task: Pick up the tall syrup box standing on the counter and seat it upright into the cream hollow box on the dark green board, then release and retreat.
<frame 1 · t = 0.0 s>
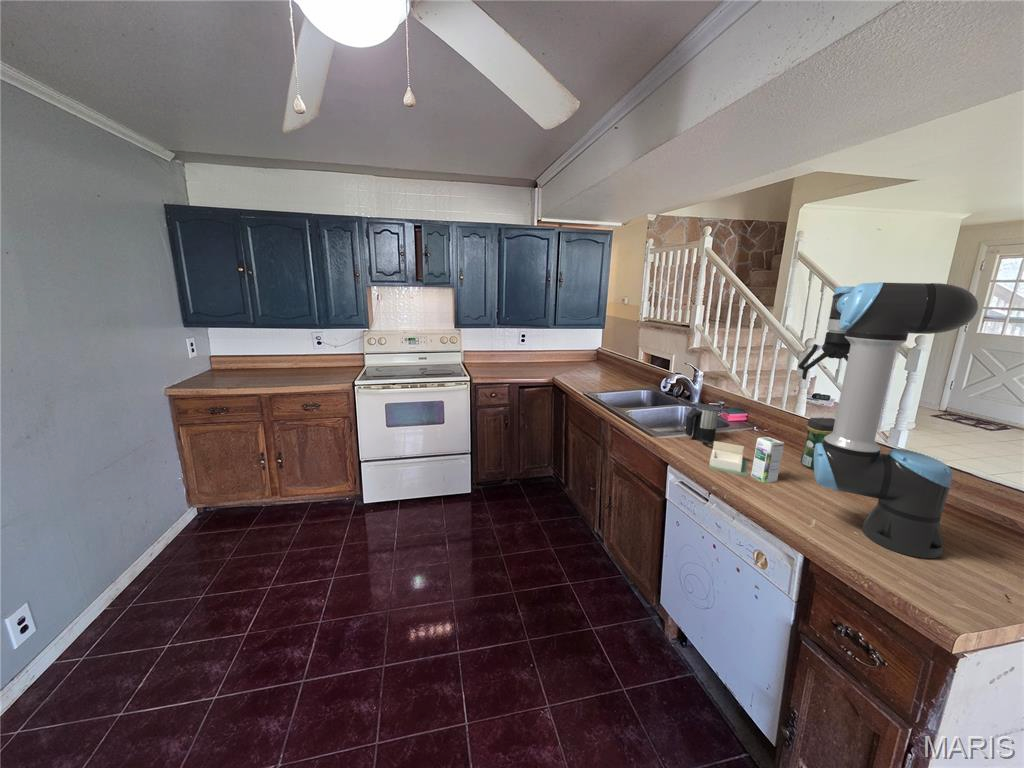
hand: (828, 391, 148), 28 cm above the counter, fingers open, 13 cm apart
coffee jar: (815, 466, 151), on the counter
cream hollow box: (725, 464, 150), resting on board
syrup box: (763, 480, 139), on the counter
milk frother: (707, 443, 173), on the counter
board: (728, 465, 150), on the counter
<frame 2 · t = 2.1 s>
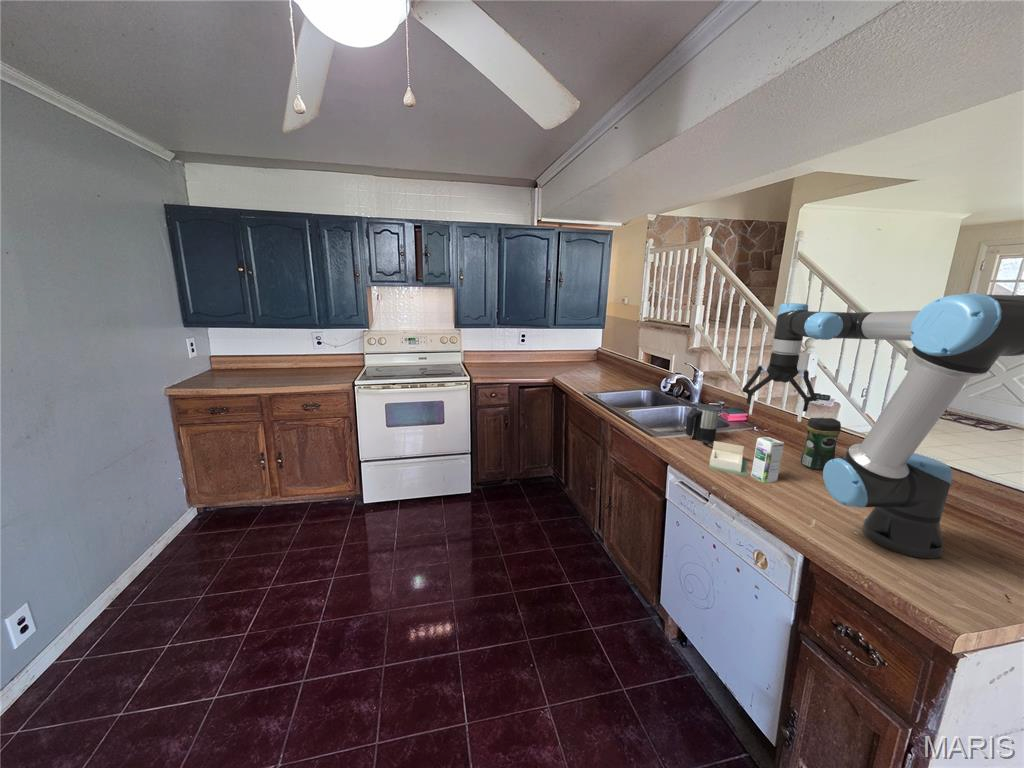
hand: (774, 417, 134), 22 cm above the counter, fingers open, 13 cm apart
nothing on the counter moved.
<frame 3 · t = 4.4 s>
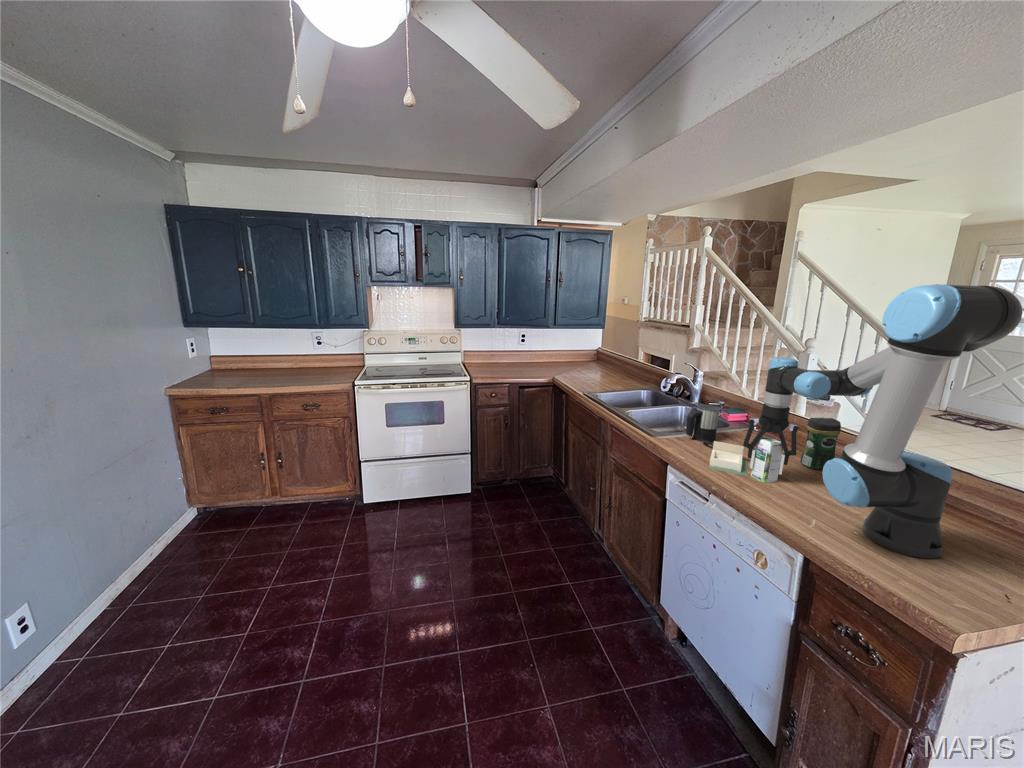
hand: (765, 469, 138), 4 cm above the counter, fingers closed on syrup box, 8 cm apart
syrup box: (763, 480, 139), on the counter, touching gripper
everything else where it was.
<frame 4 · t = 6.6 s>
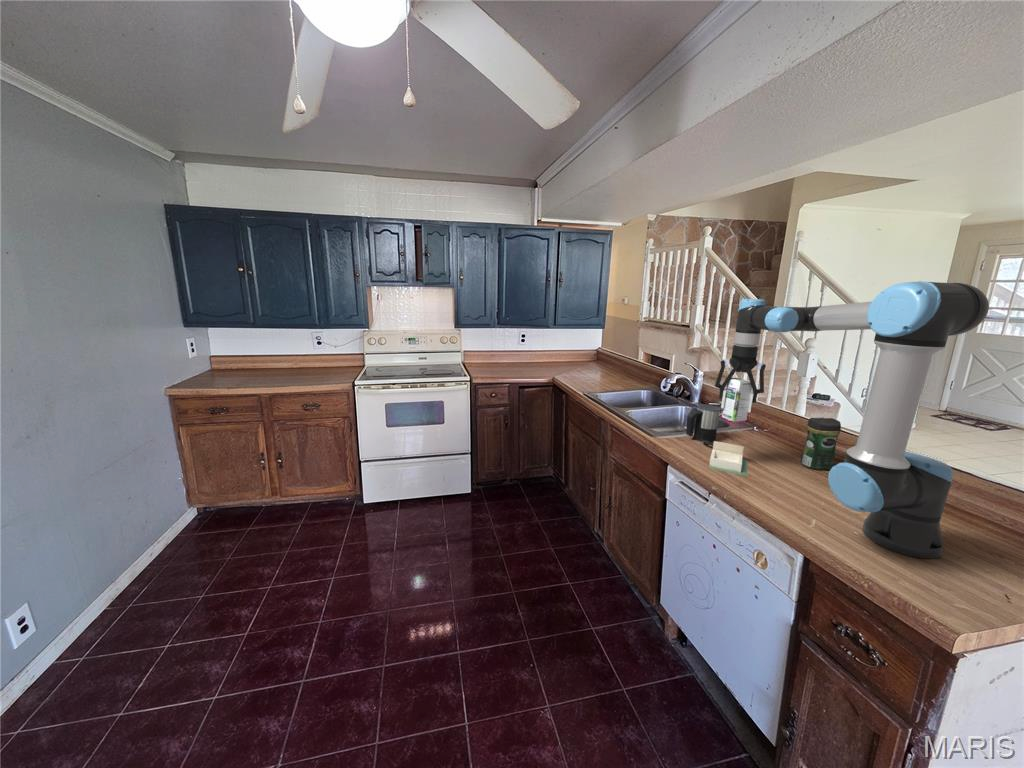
hand: (735, 409, 145), 22 cm above the counter, fingers closed on syrup box, 8 cm apart
syrup box: (734, 419, 146), point 18 cm above the counter, touching gripper
everything else where it was.
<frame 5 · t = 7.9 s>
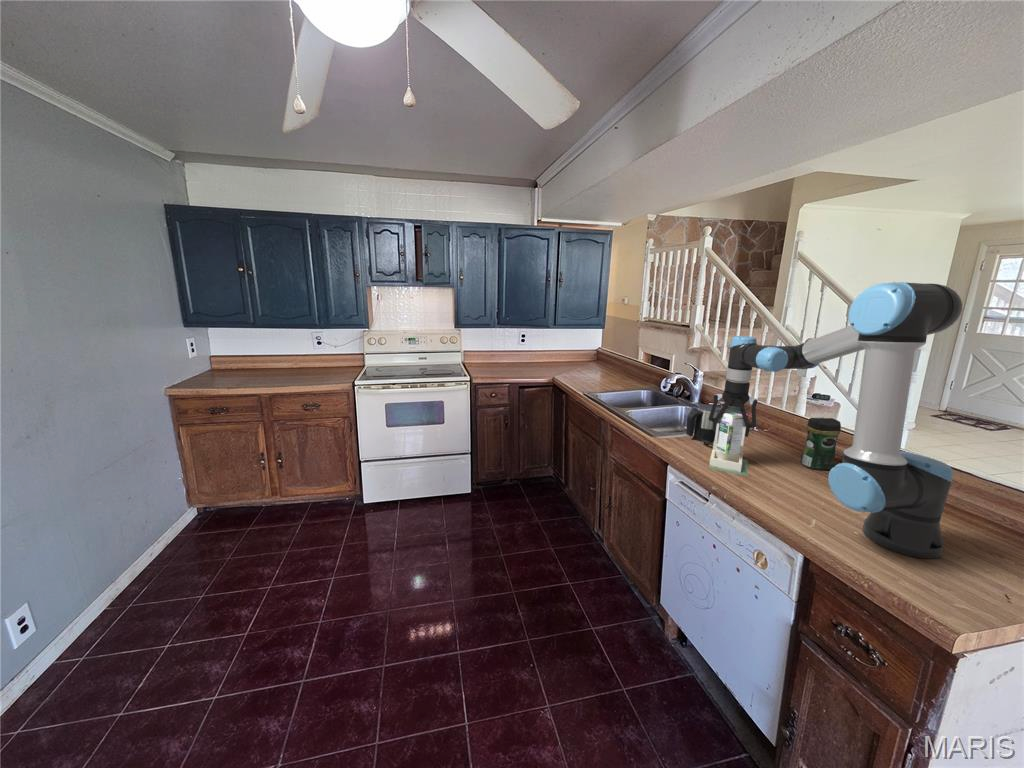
hand: (728, 442, 148), 9 cm above the counter, fingers closed on syrup box, 8 cm apart
syrup box: (727, 452, 149), point 5 cm above the counter, touching gripper
everything else where it was.
when the fingers open (6 cm above the counter, at t = 9.0 s): syrup box stays where it is, resting on cream hollow box.
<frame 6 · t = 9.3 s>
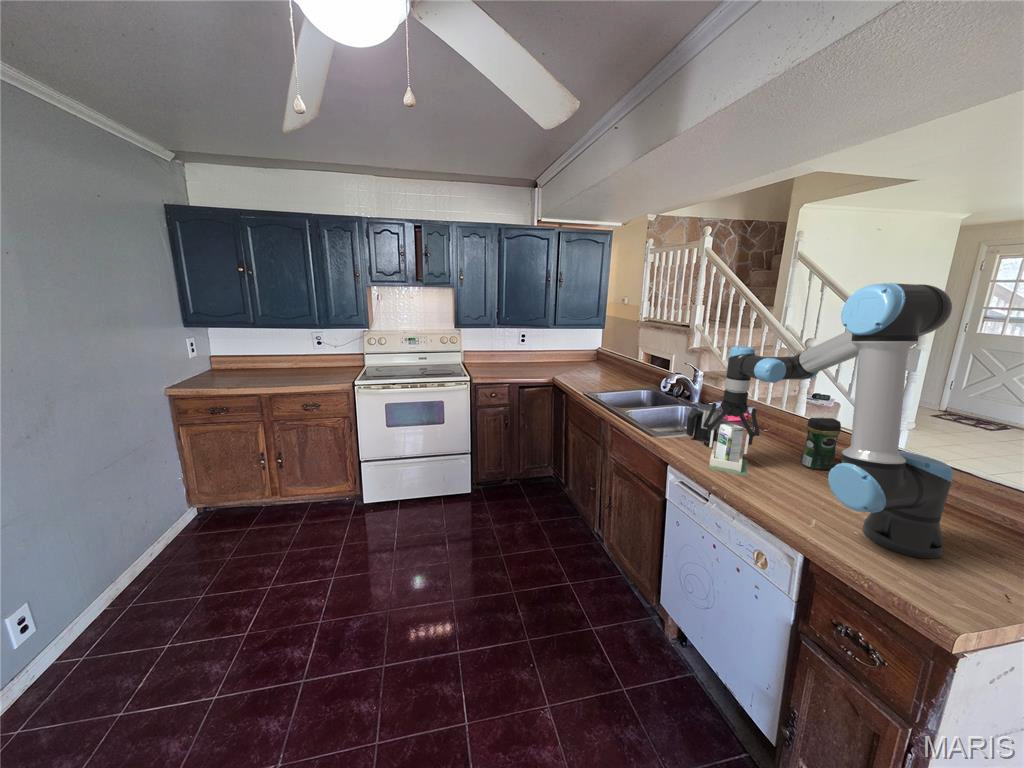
hand: (727, 449, 149), 6 cm above the counter, fingers open, 10 cm apart
syrup box: (726, 463, 150), point 1 cm above the counter, touching cream hollow box
everything else where it was.
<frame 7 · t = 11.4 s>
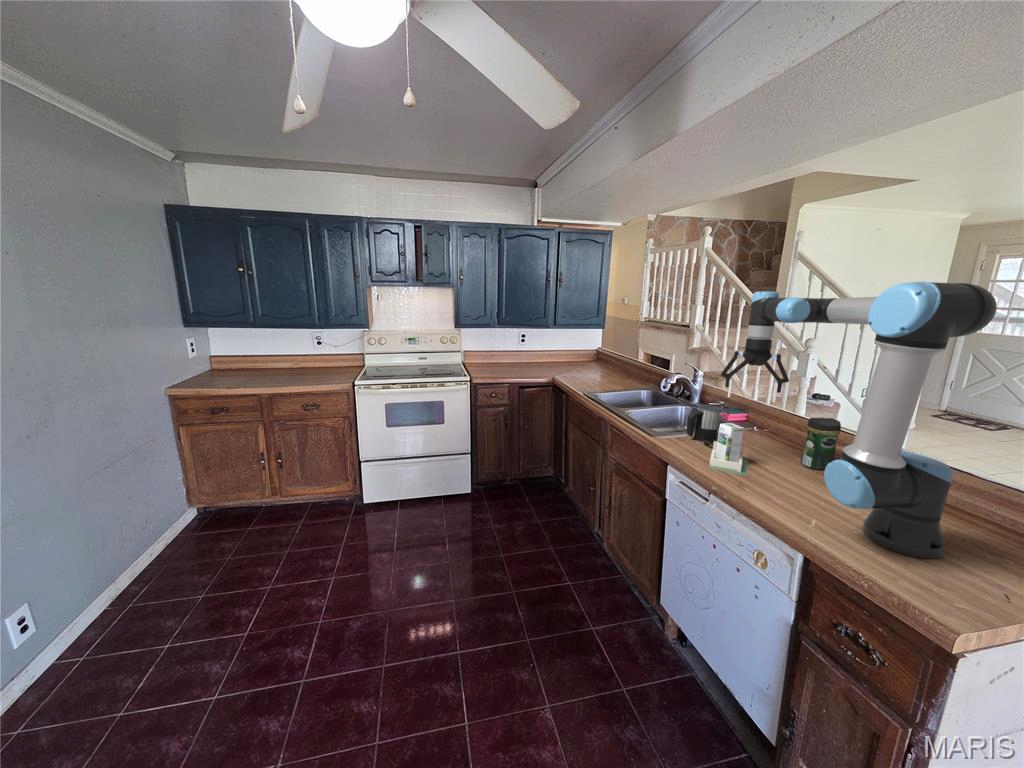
hand: (750, 399, 143), 26 cm above the counter, fingers open, 13 cm apart
nothing on the counter moved.
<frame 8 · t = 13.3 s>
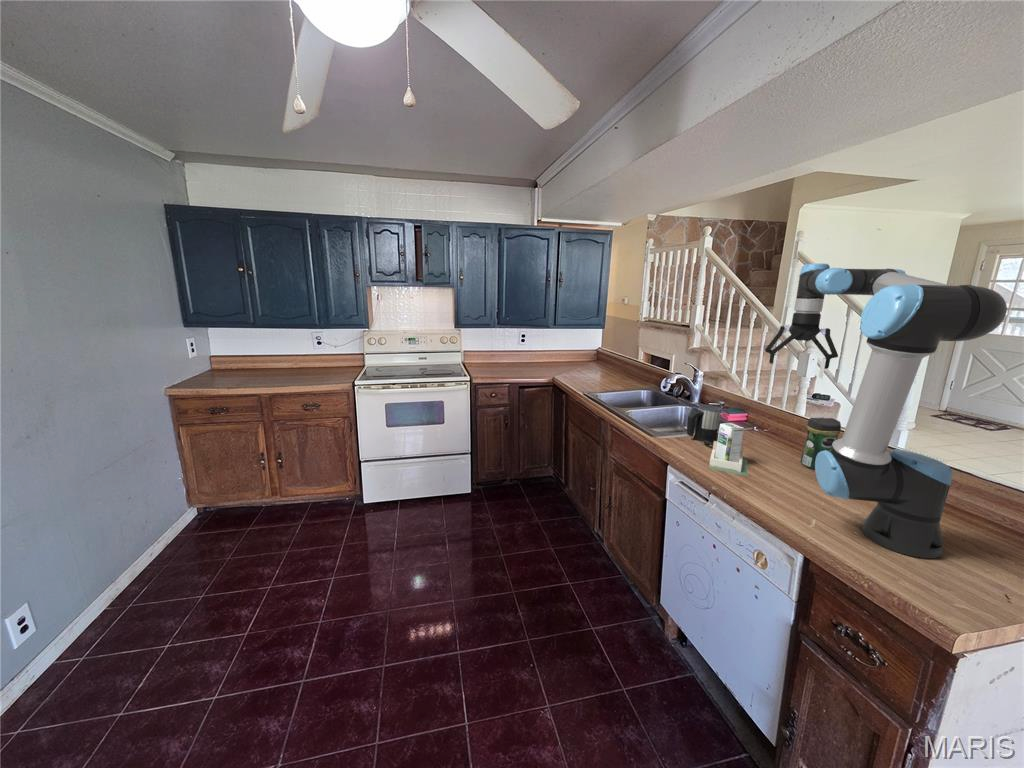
hand: (795, 375, 140), 35 cm above the counter, fingers open, 13 cm apart
nothing on the counter moved.
at the end: syrup box 0.1 cm off-centre on the cream hollow box, point 0.3 cm above the cream hollow box's base; syrup box tilted 0°; the gripper is holding nothing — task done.
